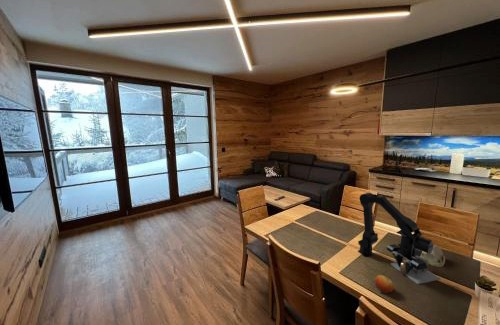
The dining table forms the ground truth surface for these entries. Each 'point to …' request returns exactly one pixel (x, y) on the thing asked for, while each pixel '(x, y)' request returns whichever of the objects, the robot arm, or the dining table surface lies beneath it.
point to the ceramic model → (434, 257)
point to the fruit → (384, 284)
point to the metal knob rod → (404, 267)
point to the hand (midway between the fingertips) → (403, 270)
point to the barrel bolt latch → (419, 273)
